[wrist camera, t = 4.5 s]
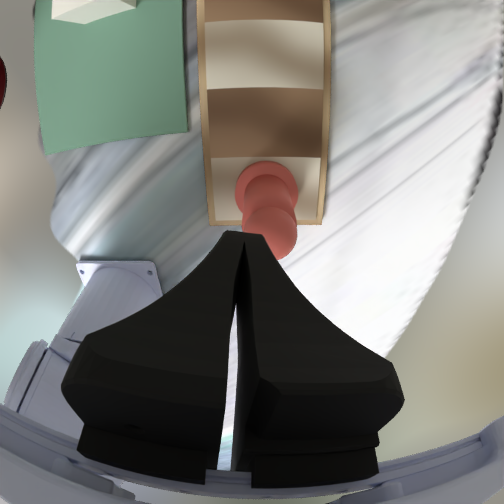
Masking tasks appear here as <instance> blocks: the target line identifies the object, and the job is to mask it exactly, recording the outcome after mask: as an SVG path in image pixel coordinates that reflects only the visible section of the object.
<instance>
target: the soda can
mask: <svg viewBox="0 0 504 504" xmlns="http://www.w3.org/2000/svg"><path fill="white" fill-rule="evenodd" d="M6 87H7V73H6V68H5V65H4V62H3V60H2V59H1V57H0V109H1V106H2V104H3V101H4V97H5V93H6Z"/></svg>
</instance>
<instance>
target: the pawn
mask: <svg viewBox="0 0 504 504" xmlns="http://www.w3.org/2000/svg"><path fill="white" fill-rule="evenodd" d="M297 200H298V187H297V184H296V181H295V179H294V177H293V175H292V173H291V172H290V171H289V170H288V169H287V168H286V167H285V166H283V165H282V164H280V163H277V162H274V161H259V162H255V163H253V164H251V165H249V166H248V167H246V168H245V169H244V170H243V171H242V172H241V174H240V175H239V177H238V179H237V183H236V188H235V201H236V204H237V206H238V208H239V210H240V211H241V212H242V213H243V215H242V230H243V232H247V233H255V234H262V235H263V236H264V238H265V239H266V242H267V243H268V245H269V247H270V249H271V251H272V252H273V254H274V256H275V258H276V259H277V260H279V259H282V258H284V257H285V256H287V255H288V254H289V253H290V252H291V251H292V249H293V248H294V246H295V244H296V240H297V228H296V227H297V220H296V216H295V212H294V208H295V206H296V204H297Z"/></svg>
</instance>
